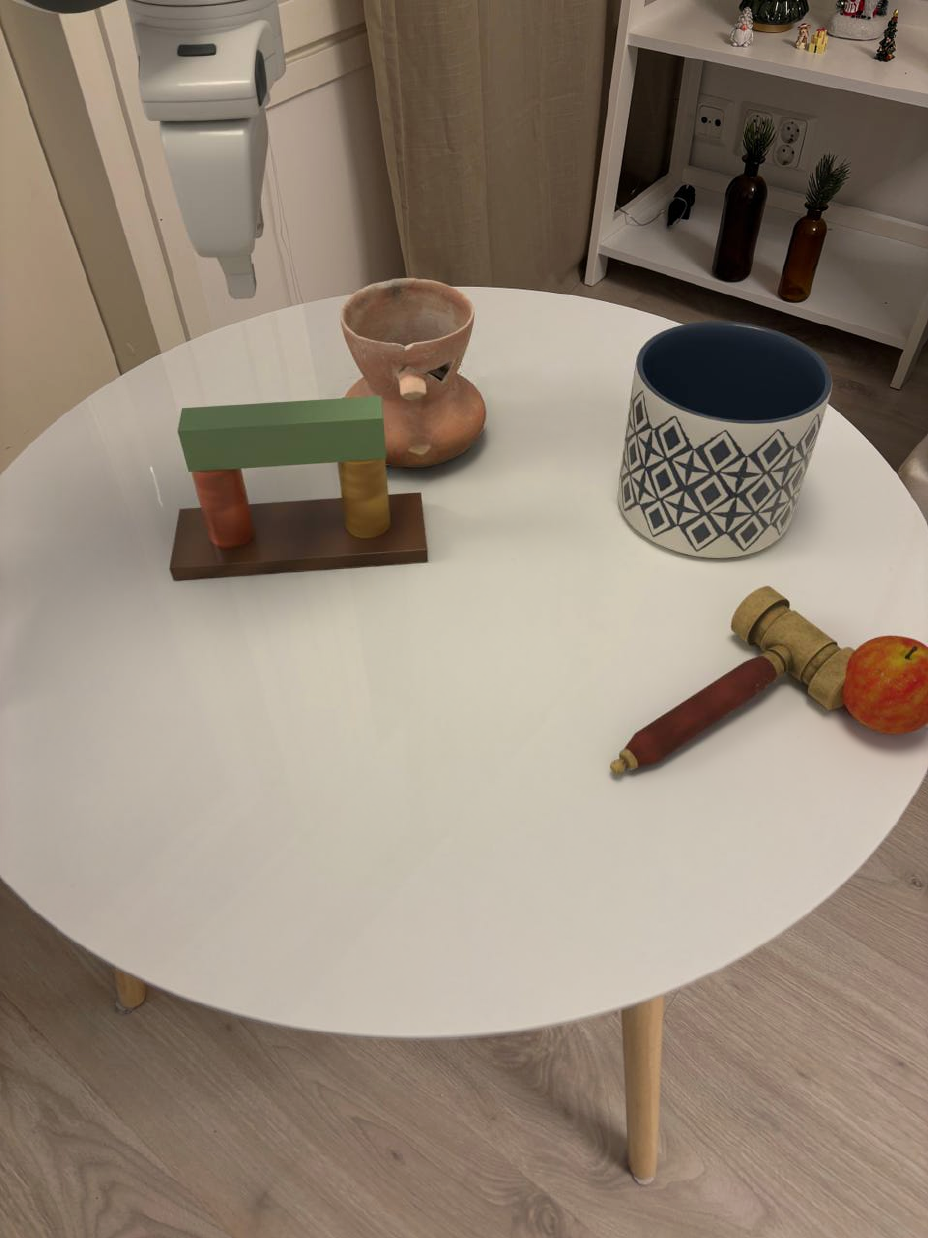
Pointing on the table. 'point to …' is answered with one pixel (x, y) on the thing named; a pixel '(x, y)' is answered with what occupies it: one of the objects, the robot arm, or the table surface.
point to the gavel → (748, 676)
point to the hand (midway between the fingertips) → (248, 262)
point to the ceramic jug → (415, 367)
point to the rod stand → (297, 527)
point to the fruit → (888, 684)
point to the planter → (720, 436)
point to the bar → (282, 433)
